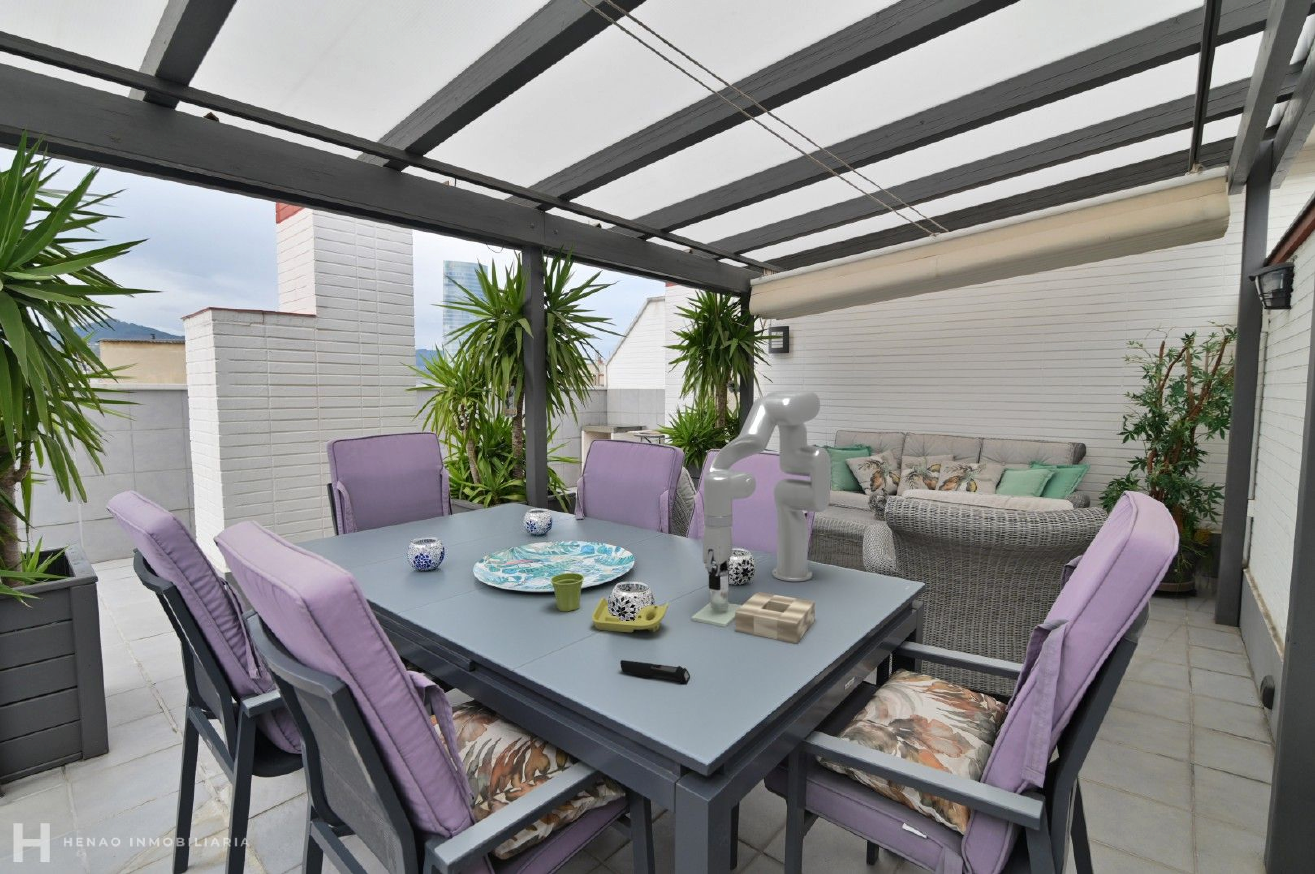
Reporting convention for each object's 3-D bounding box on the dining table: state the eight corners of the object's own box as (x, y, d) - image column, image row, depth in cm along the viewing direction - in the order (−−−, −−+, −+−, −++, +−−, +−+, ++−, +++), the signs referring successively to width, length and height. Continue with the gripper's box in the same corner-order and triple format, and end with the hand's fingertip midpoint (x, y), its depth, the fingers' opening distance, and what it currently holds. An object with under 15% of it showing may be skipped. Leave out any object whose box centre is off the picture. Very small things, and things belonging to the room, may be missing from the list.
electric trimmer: (624, 668, 135) (624, 655, 135) (691, 677, 130) (690, 663, 130) (618, 677, 132) (617, 663, 131) (686, 686, 127) (685, 672, 126)
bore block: (757, 609, 167) (757, 591, 167) (814, 619, 159) (814, 601, 159) (735, 630, 153) (735, 611, 153) (796, 643, 145) (796, 623, 145)
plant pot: (578, 615, 165) (577, 584, 165) (546, 613, 167) (545, 582, 167) (589, 602, 175) (588, 573, 174) (558, 600, 177) (557, 572, 176)
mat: (713, 602, 173) (713, 600, 173) (745, 608, 168) (745, 605, 168) (691, 620, 161) (691, 617, 160) (725, 627, 156) (725, 624, 156)
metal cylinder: (714, 602, 167) (714, 567, 166) (731, 605, 165) (731, 569, 164) (707, 608, 163) (706, 572, 162) (724, 611, 161) (723, 575, 160)
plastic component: (588, 621, 156) (604, 593, 163) (597, 641, 159) (612, 612, 167) (658, 627, 147) (671, 597, 155) (665, 648, 151) (678, 618, 158)
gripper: (718, 512, 171) (719, 574, 173) (691, 526, 156) (692, 593, 158) (743, 515, 167) (743, 578, 169) (718, 529, 152) (719, 598, 154)
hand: (719, 585), depth 163 cm, fingers closed on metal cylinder, 5 cm apart
